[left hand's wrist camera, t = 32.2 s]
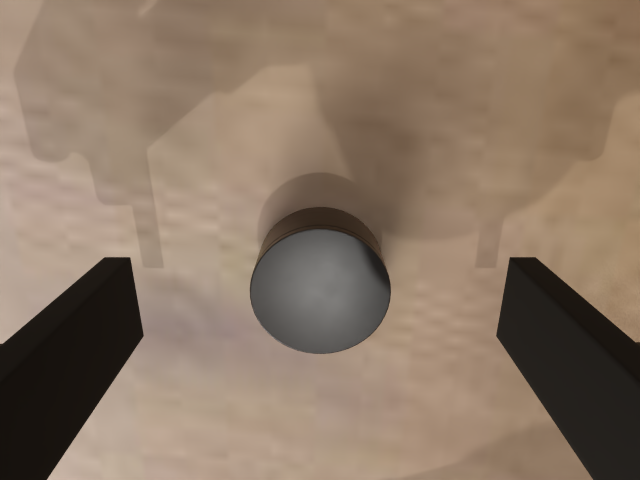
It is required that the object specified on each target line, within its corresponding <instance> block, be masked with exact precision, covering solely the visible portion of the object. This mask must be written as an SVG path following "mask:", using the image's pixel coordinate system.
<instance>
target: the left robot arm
mask: <svg viewBox="0 0 640 480" xmlns="http://www.w3.org/2000/svg"><path fill="white" fill-rule="evenodd" d="M143 336H144V335H143V329H142V323H141V318H140V312H139V306H138V300H137V294H136V289H135V283H134V277H133V271H132V265H131V260H130V257H104V258H103V259H102V260H101V261H100V262H99V263H97V264H96V265H95V266H94V267H93V268H92V269H90V270H89V271H88V272H87V273H86V274H84V275H83V276H82V277H81V278H80V279H79V280H77V281H76V282H75V283H74V284H73V285H72V286H70V287H69V288H68V289H67V290H66V291H64V292H63V293H62V294H61V295H60V296H59V297H57V298H56V299H55V300H54V301H53V302H52V303H50V304H49V305H48V306H47V307H46V308H45V309H43V310H42V311H41V312H40V313H39V314H37V315H36V316H35V317H34V318H33V319H32V320H30V321H29V322H28V323H27V324H26V325H25V326H23V327H22V328H21V329H20V330H19V331H17V332H16V333H15V334H14V335H13V336H12V337H10V338H9V339H8V340H7V341H6V342H5V343H3V344H0V480H47V479H48V477H49V476H50V474H51V473H52V471H53V470H54V468H55V467H56V465H57V464H58V462H59V461H60V459H61V458H62V456H63V455H64V453H65V452H66V450H67V449H68V447H69V446H70V444H71V443H72V441H73V440H74V438H75V437H76V435H77V434H78V433H79V431H80V430H81V428H82V427H83V425H84V424H85V422H86V421H87V419H88V418H89V416H90V415H91V413H92V412H93V410H94V409H95V407H96V406H97V404H98V403H99V401H100V400H101V398H102V397H103V395H104V394H105V392H106V391H107V389H108V388H109V387H110V385H111V384H112V382H113V381H114V379H115V378H116V376H117V375H118V373H119V372H120V370H121V369H122V367H123V366H124V364H125V363H126V361H127V360H128V358H129V357H130V355H131V354H132V352H133V351H134V349H135V348H136V346H137V345H138V343H139V342H140V341H141V339H142V338H143ZM496 336H497V338H498V339H499V341H500V342H501V343H502V345H503V346H504V348H505V349H506V351H507V352H508V354H509V355H510V357H511V358H512V360H513V361H514V363H515V364H516V366H517V367H518V369H519V370H520V372H521V373H522V375H523V376H524V378H525V379H526V381H527V382H528V384H529V385H530V387H531V388H532V389H533V391H534V392H535V394H536V395H537V397H538V398H539V400H540V401H541V403H542V404H543V406H544V407H545V409H546V410H547V412H548V413H549V415H550V416H551V418H552V419H553V421H554V422H555V424H556V425H557V427H558V428H559V430H560V431H561V433H562V434H563V435H564V437H565V438H566V440H567V441H568V443H569V444H570V446H571V447H572V449H573V450H574V452H575V453H576V455H577V456H578V458H579V459H580V461H581V462H582V464H583V465H584V467H585V468H586V470H587V471H588V473H589V474H590V476H591V477H592V478H593V480H640V342H634V341H633V340H632V339H631V338H630V337H628V336H627V335H626V334H625V333H624V332H623V331H621V330H620V329H619V328H618V327H617V326H616V325H614V324H613V323H612V322H611V321H610V320H608V319H607V318H606V317H605V316H604V315H603V314H601V313H600V312H599V311H598V310H597V309H596V308H594V307H593V306H592V305H591V304H590V303H588V302H587V301H586V300H585V299H584V298H583V297H581V296H580V295H579V294H578V293H577V292H576V291H574V290H573V289H572V288H571V287H570V286H568V285H567V284H566V283H565V282H564V281H563V280H561V279H560V278H559V277H558V276H557V275H556V274H554V273H553V272H552V271H551V270H550V269H548V268H547V267H546V266H545V265H544V264H543V263H541V262H540V261H539V260H538V259H537V258H536V257H510V260H509V265H508V271H507V277H506V283H505V289H504V294H503V300H502V306H501V312H500V318H499V323H498V329H497V335H496Z"/></svg>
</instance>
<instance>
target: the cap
mask: <svg viewBox="0 0 640 480" xmlns="http://www.w3.org/2000/svg"><path fill="white" fill-rule="evenodd" d="M390 295H391V287H390V280H389V275H388V272H387V269H386V266H385V263H384V260H383V258H382V255H381V252H380V249H379V246H378V243H377V241H376V239H375V237H374V235H373V234H372V233H371V231H370V230H369V229H368V228H367V227H366V226H365V225H364V224H363V223H362V222H361V221H360V220H358V219H357V218H356V217H354V216H352V215H350V214H348V213H346V212H344V211H341V210H337V209H333V208H326V207H316V208H308V209H303V210H300V211H297V212H295V213H292V214H290V215H288V216H287V217H285V218H284V219H282V220H281V221H279V222H278V223H277V224H276V225H275V226H274V227H273V228H272V230H271V231H270V232H269V233H268V235H267V237H266V238H265V240H264V243H263V245H262V247H261V250H260V253H259V256H258V259H257V262H256V265H255V268H254V271H253V274H252V278H251V284H250V299H251V304H252V307H253V310H254V313H255V315H256V317H257V319H258V321H259V322H260V324H261V325H262V327H263V328H264V329H265V330H266V331H267V332H268V333H269V334H270V335H271V336H272V337H273V338H274V339H276V340H277V341H279V342H280V343H282V344H284V345H286V346H288V347H290V348H292V349H295V350H298V351H302V352H306V353H314V354H326V353H334V352H339V351H342V350H346V349H349V348H351V347H353V346H355V345H357V344H359V343H360V342H362V341H364V340H365V339H366V338H367V337H369V336H370V335H371V334H372V333H373V332H374V331H375V330H376V329H377V327H378V326H379V325H380V323H381V322H382V320H383V318H384V317H385V315H386V312H387V310H388V306H389V302H390Z"/></svg>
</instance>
